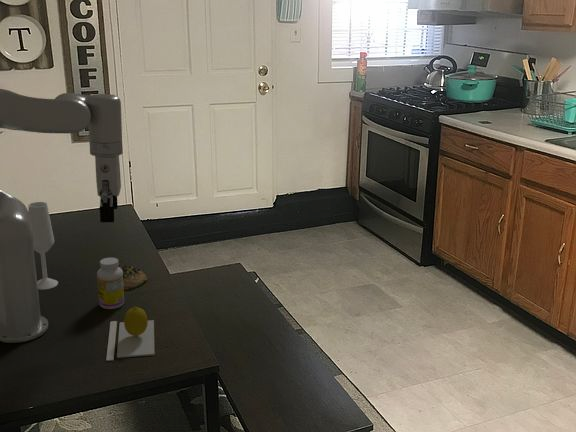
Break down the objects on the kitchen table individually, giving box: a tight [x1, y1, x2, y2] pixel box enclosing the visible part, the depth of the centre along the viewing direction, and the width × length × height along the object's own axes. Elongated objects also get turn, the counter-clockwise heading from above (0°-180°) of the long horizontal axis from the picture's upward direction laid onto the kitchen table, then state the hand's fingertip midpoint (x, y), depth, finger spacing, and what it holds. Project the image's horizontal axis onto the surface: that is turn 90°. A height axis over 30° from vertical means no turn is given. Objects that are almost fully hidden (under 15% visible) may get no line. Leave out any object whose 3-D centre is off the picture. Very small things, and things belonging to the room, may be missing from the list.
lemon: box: [123, 306, 148, 337], centre depth 151 cm, size 6×6×8 cm
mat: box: [116, 319, 156, 359], centre depth 152 cm, size 8×16×1 cm, turn 12°
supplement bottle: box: [96, 257, 125, 310], centre depth 166 cm, size 7×7×13 cm
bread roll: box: [119, 265, 148, 290], centre depth 181 cm, size 11×11×5 cm
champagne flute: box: [27, 201, 59, 290], centre depth 174 cm, size 7×7×24 cm
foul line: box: [105, 320, 118, 362], centre depth 151 cm, size 2×18×1 cm, turn 12°
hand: (109, 215), depth 153 cm, fingers open, 9 cm apart
